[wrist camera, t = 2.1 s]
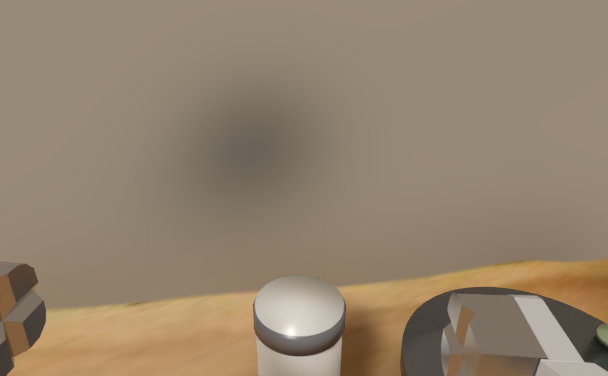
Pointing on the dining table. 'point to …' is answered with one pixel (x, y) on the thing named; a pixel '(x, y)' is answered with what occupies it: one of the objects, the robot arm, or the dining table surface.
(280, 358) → the white lidded container
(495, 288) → the base
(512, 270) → the dining table surface
